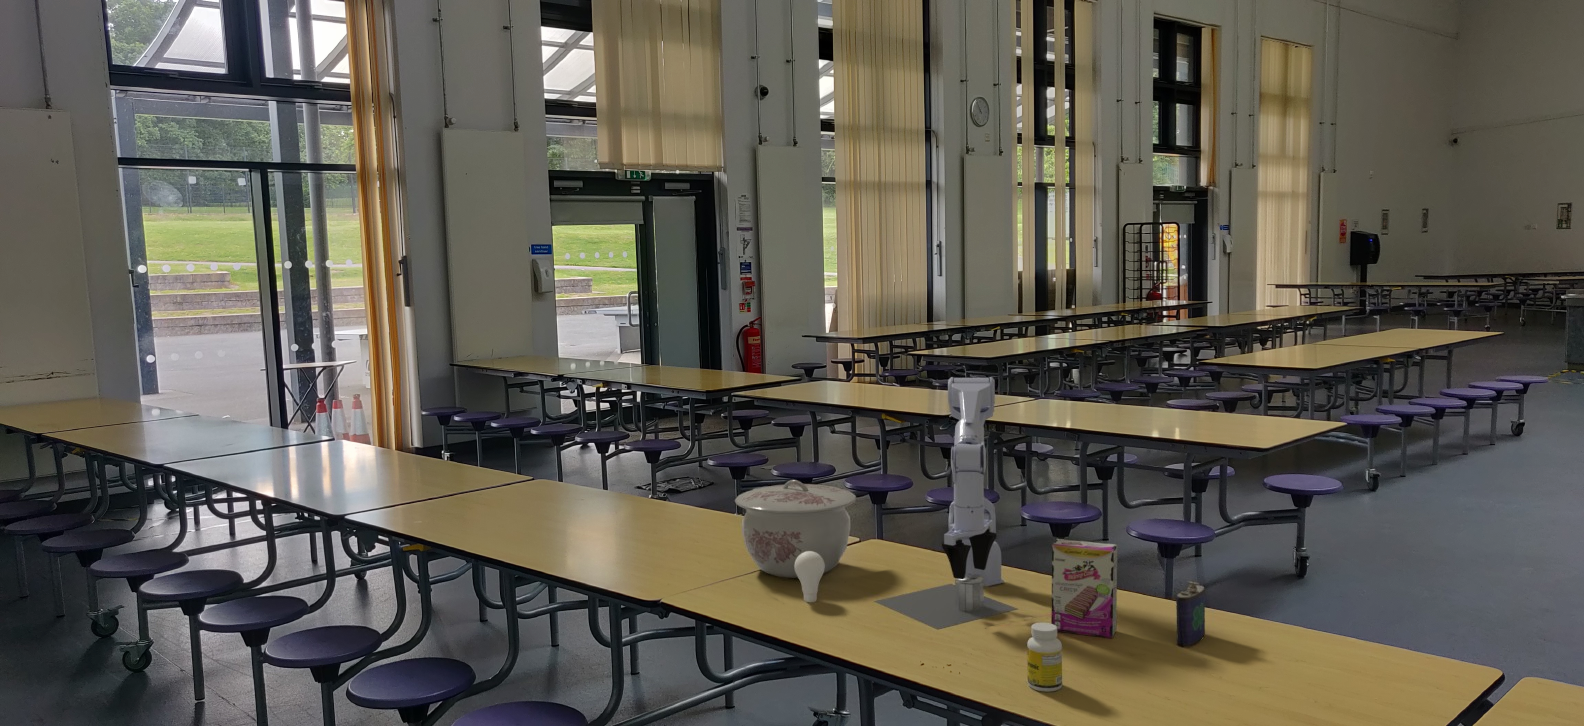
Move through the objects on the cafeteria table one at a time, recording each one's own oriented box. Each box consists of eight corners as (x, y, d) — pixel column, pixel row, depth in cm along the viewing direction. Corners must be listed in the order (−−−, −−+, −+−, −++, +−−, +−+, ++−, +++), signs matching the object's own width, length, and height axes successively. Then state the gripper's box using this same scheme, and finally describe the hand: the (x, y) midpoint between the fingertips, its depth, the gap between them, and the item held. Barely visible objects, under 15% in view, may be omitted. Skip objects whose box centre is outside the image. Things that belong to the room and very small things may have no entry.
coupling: (964, 601, 204) (964, 571, 204) (988, 606, 201) (988, 576, 200) (950, 608, 200) (950, 578, 200) (974, 613, 197) (974, 583, 196)
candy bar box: (1050, 631, 189) (1050, 544, 187) (1055, 623, 193) (1055, 537, 192) (1113, 639, 184) (1114, 550, 182) (1117, 630, 188) (1117, 543, 187)
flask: (1193, 631, 187) (1194, 573, 186) (1209, 634, 185) (1210, 576, 184) (1173, 645, 180) (1173, 586, 179) (1189, 649, 178) (1190, 589, 177)
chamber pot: (861, 586, 218) (859, 491, 217) (732, 589, 219) (729, 493, 217) (854, 551, 246) (853, 466, 245) (740, 553, 247) (738, 469, 245)
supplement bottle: (1023, 680, 167) (1022, 621, 166) (1055, 678, 167) (1055, 619, 166) (1033, 693, 161) (1033, 633, 160) (1067, 691, 162) (1067, 631, 161)
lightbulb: (826, 600, 210) (825, 547, 209) (824, 609, 204) (823, 555, 203) (796, 600, 211) (795, 547, 210) (793, 609, 205) (792, 555, 204)
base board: (951, 588, 216) (950, 583, 216) (1018, 613, 199) (1018, 608, 199) (873, 605, 206) (873, 601, 206) (937, 634, 189) (937, 629, 188)
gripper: (971, 495, 207) (971, 561, 208) (930, 509, 196) (931, 578, 197) (1001, 500, 202) (1002, 567, 203) (962, 514, 191) (962, 585, 192)
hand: (969, 573), depth 200 cm, fingers open, 7 cm apart
